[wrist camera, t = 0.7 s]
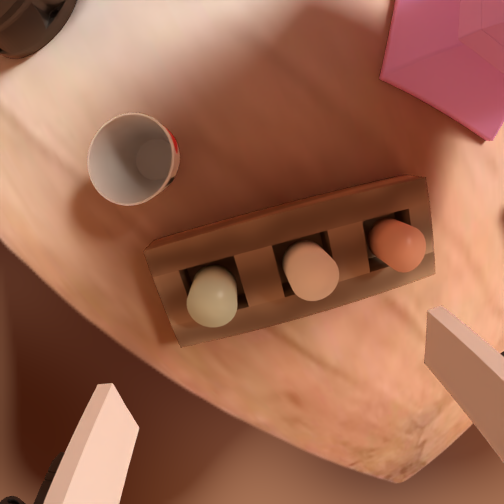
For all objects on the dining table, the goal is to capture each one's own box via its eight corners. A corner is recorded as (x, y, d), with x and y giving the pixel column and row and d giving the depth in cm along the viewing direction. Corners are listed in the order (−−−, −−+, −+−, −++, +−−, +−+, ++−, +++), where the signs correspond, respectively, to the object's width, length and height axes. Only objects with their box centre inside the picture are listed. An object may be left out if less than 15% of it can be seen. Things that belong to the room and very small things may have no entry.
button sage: (186, 271, 34) (179, 288, 29) (229, 259, 34) (229, 275, 29) (200, 310, 35) (196, 332, 31) (241, 299, 35) (243, 320, 31)
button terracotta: (364, 223, 34) (383, 232, 29) (401, 213, 34) (423, 221, 29) (370, 263, 35) (389, 278, 30) (405, 252, 35) (427, 265, 30)
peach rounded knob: (277, 246, 34) (284, 260, 29) (320, 235, 34) (334, 246, 29) (287, 287, 35) (295, 306, 31) (328, 275, 35) (342, 293, 30)
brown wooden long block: (154, 240, 37) (143, 251, 32) (404, 174, 37) (425, 177, 32) (186, 327, 40) (180, 347, 36) (416, 262, 40) (435, 273, 35)
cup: (189, 194, 36) (173, 206, 26) (122, 194, 35) (87, 206, 26) (191, 124, 34) (176, 110, 24) (124, 126, 33) (88, 116, 24)
